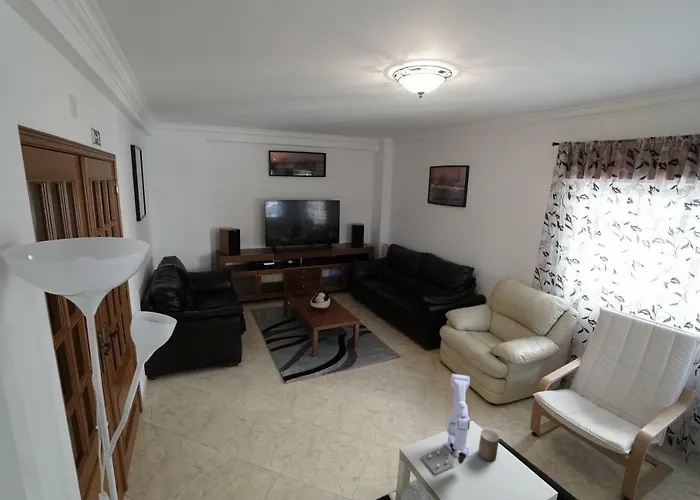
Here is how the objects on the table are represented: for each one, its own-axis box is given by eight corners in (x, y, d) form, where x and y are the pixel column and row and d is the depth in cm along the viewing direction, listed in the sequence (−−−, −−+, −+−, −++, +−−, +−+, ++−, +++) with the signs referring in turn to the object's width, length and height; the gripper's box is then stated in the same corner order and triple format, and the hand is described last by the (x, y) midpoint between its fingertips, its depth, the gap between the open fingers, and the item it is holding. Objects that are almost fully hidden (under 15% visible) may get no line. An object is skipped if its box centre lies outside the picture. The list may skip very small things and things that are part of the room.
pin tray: (440, 450, 202) (440, 446, 201) (455, 466, 192) (455, 461, 191) (421, 458, 196) (421, 454, 195) (435, 475, 186) (435, 470, 185)
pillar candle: (498, 462, 195) (502, 440, 191) (481, 461, 195) (484, 439, 192) (492, 448, 204) (495, 427, 201) (475, 448, 205) (478, 426, 201)
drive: (461, 456, 190) (462, 446, 189) (467, 461, 187) (468, 452, 185) (447, 462, 186) (448, 453, 184) (453, 468, 182) (454, 458, 181)
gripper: (445, 431, 187) (442, 452, 190) (465, 450, 175) (462, 472, 178) (455, 426, 190) (452, 447, 194) (475, 445, 178) (472, 467, 181)
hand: (457, 459), depth 186 cm, fingers closed on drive, 4 cm apart
